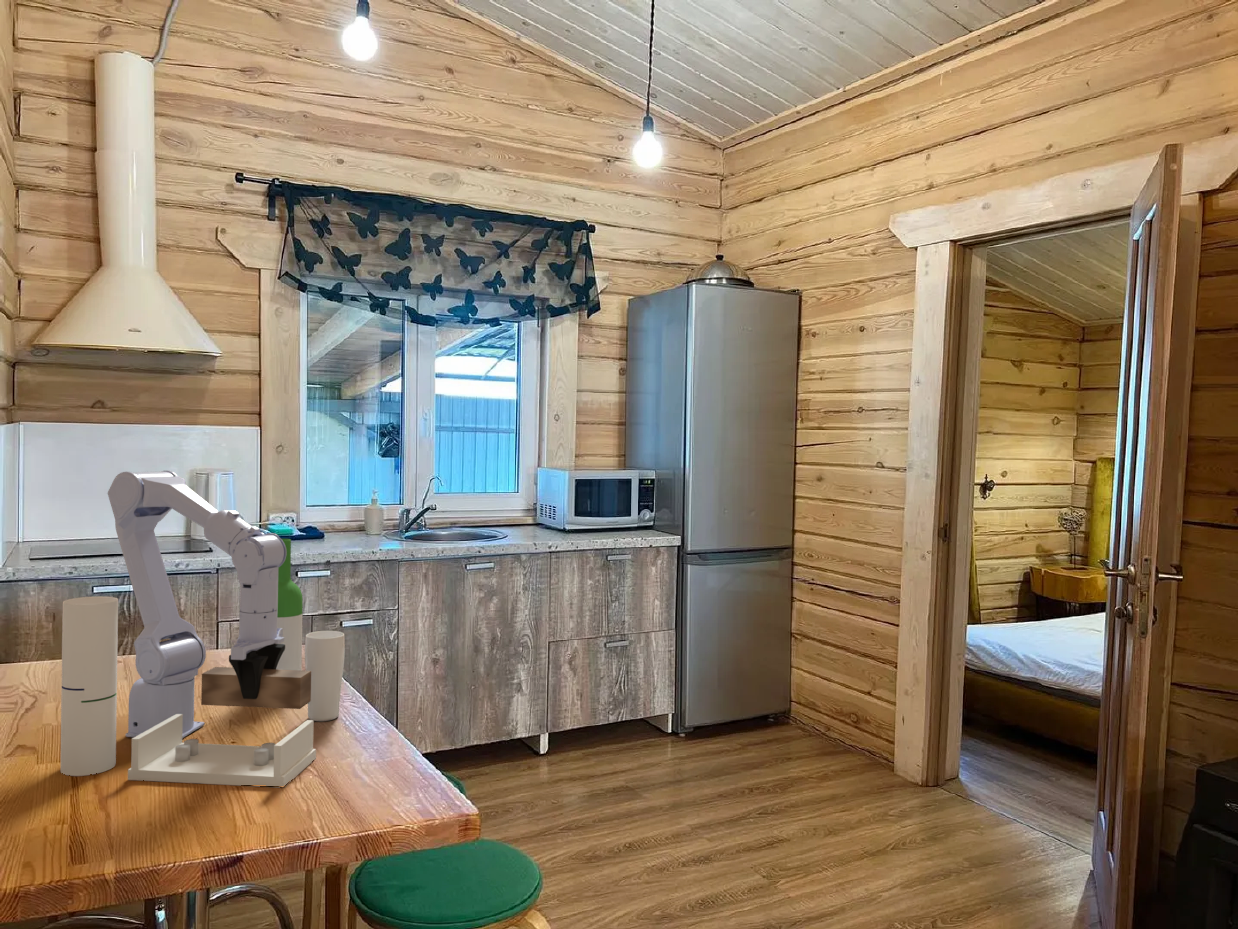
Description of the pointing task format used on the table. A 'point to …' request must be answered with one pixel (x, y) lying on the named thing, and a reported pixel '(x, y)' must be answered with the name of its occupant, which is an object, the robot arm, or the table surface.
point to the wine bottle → (289, 615)
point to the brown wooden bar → (273, 693)
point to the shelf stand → (218, 758)
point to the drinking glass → (324, 673)
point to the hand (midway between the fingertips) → (257, 694)
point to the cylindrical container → (89, 685)
